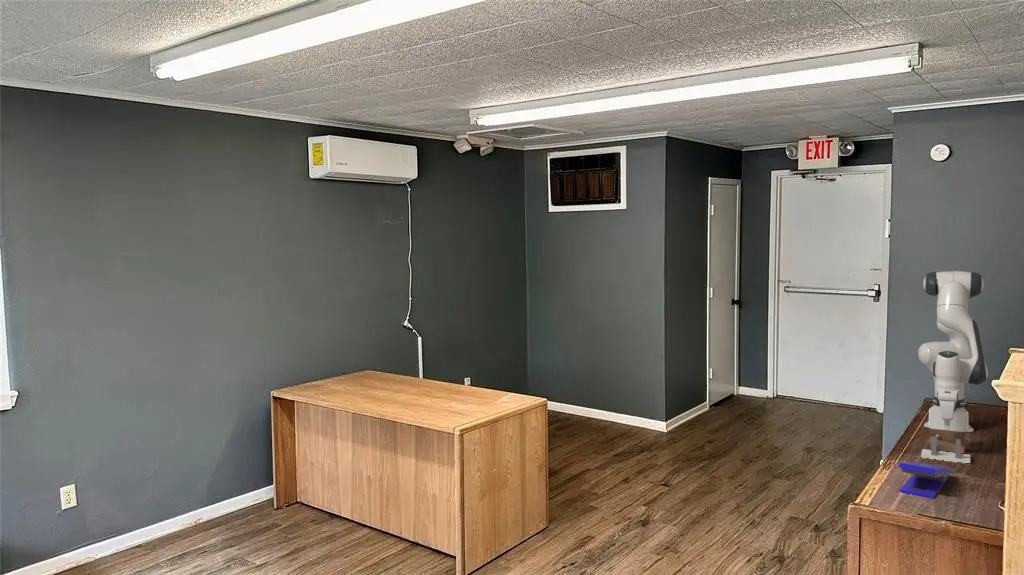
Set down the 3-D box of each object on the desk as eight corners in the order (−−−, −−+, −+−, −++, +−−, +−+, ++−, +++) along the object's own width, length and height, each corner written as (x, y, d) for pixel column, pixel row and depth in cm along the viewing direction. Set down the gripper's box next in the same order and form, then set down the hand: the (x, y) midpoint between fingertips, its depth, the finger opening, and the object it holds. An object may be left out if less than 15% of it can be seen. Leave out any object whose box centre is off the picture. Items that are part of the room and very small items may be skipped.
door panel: (929, 447, 295) (929, 428, 294) (963, 451, 289) (964, 432, 288) (928, 450, 292) (929, 430, 291) (963, 454, 285) (964, 434, 285)
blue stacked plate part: (897, 492, 244) (897, 464, 243) (915, 472, 265) (916, 445, 265) (936, 500, 237) (936, 470, 236) (952, 478, 258) (952, 451, 257)
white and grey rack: (922, 452, 288) (922, 435, 287) (970, 458, 279) (970, 440, 279) (921, 457, 281) (921, 440, 281) (970, 464, 273) (970, 445, 272)
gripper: (939, 388, 299) (938, 421, 300) (937, 396, 282) (937, 431, 282) (957, 389, 296) (956, 423, 296) (956, 397, 279) (956, 433, 279)
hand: (947, 427), depth 289 cm, fingers open, 8 cm apart
